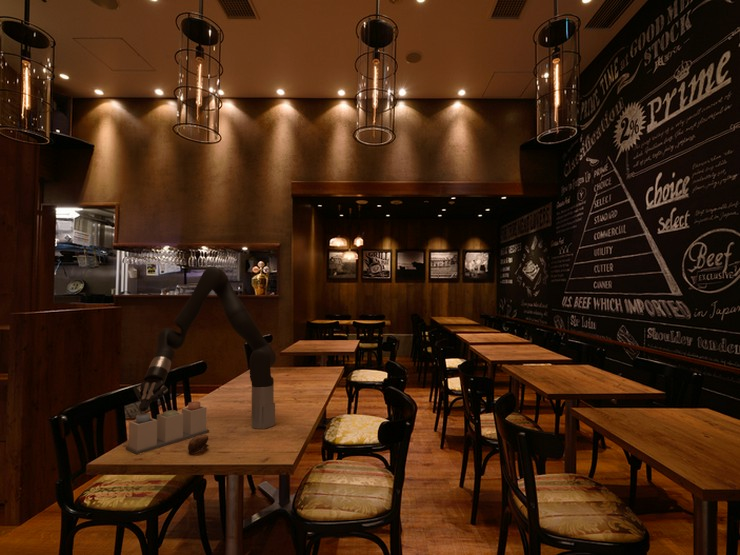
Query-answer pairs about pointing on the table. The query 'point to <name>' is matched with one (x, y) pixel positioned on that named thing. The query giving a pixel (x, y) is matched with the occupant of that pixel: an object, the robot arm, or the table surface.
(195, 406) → the terracotta button
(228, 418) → the table surface
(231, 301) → the robot arm
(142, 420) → the slate button
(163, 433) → the button stand
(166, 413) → the sage button
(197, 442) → the mushroom
